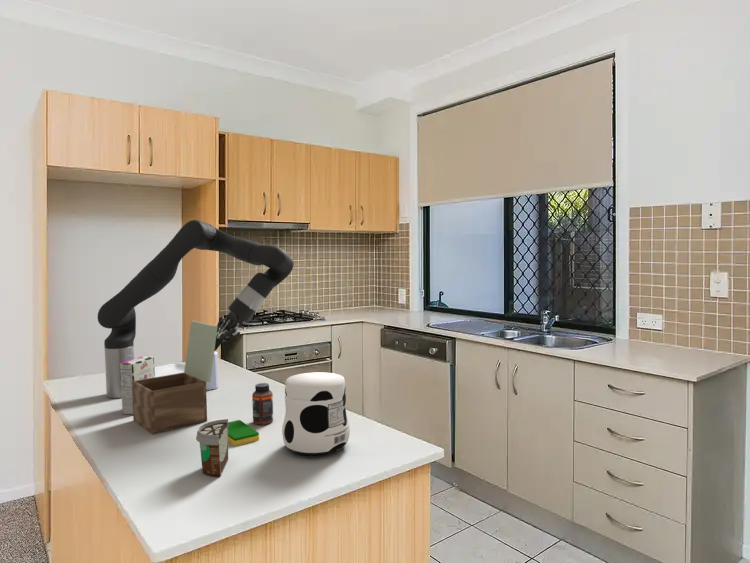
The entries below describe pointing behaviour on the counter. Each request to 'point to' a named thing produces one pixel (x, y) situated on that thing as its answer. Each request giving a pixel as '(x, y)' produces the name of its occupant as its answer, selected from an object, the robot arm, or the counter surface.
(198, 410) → the walnut box
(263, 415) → the supplement bottle
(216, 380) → the soap bottle
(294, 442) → the milk container
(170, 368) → the salad plate
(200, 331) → the lid
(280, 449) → the counter surface
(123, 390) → the candy bar box
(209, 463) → the food container
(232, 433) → the dish sponge
